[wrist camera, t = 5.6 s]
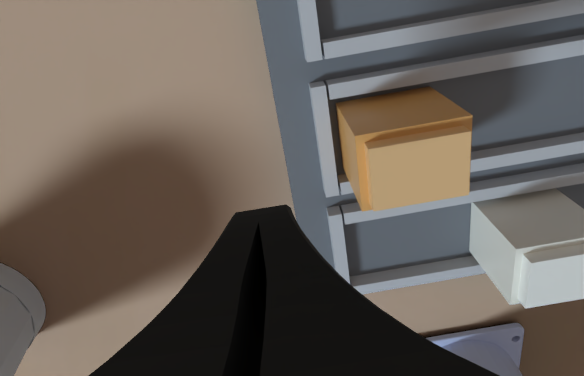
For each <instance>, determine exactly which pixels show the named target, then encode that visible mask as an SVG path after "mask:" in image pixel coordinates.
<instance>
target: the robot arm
mask: <svg viewBox="0 0 584 376" xmlns="http://www.w3.org/2000/svg"><path fill="white" fill-rule="evenodd" d="M523 337H524V328H523V327H522V326H521V325H520V324H519V323H510V324H505V325H499V326H493V327H487V328H481V329H475V330H469V331H463V332H457V333H452V334H446V335H440V336H434V337H428V338H424V337H422V336H421V335H419V334H417V333H416V332H414V331H412V330H411V329H410V328H408V327H407V326H405V325H404V324H402V323H401V322H399V321H398V320H396V319H395V318H393V317H392V316H390V315H389V314H387V313H386V312H384V311H383V310H381V309H380V308H379V307H377V306H376V305H375V304H373V303H372V302H371V301H370V300H368V299H367V298H366V297H365V296H363V295H362V294H361V293H360V292H358V291H357V290H356V289H355V288H354V287H353V286H352V285H350V284H349V283H348V282H347V281H346V280H345V279H344V278H343V277H342V276H341V275H340V274H339V273H338V272H337V271H336V270H335V269H334V268H333V267H332V266H331V265H330V264H329V263H328V262H327V261H326V260H325V259H324V258H323V256H322V255H321V254H320V253H319V252H318V251H317V249H316V248H315V247H314V245H313V244H312V243H311V242H310V240H309V239H308V238H307V237H306V235H305V234H304V232H303V231H302V229H301V228H300V226H299V225H298V223H297V221H296V219H295V217H294V215H293V213H292V210H291V208H290V207H289V206H287V205H280V206H274V207H268V208H262V209H256V210H249V211H243V212H237V213H235V214H234V216H233V217H232V219H231V220H230V222H229V223H228V225H227V226H226V228H225V230H224V231H223V233H222V234H221V236H220V237H219V239H218V240H217V242H216V243H215V245H214V246H213V248H212V249H211V251H210V252H209V254H208V255H207V256H206V258H205V259H204V261H203V262H202V263H201V265H200V266H199V268H198V269H197V270H196V271H195V273H194V274H193V275H192V276H191V278H190V279H189V280H188V281H187V283H186V284H185V285H184V286H183V288H182V289H181V290H180V291H179V293H178V294H177V295H176V296H175V297H174V298H173V299H172V300H171V302H170V303H169V304H168V305H167V306H166V307H165V308H164V309H163V310H162V311H161V312H160V313H159V314H158V315H157V316H156V317H155V318H154V319H153V320H152V321H151V322H150V323H149V324H148V325H147V326H146V327H145V328H144V329H143V330H142V331H141V332H139V333H138V334H137V335H136V336H135V337H134V338H133V339H131V340H130V341H129V342H128V343H127V344H126V345H125V346H124V347H122V348H121V349H120V350H119V351H118V352H117V353H116V354H114V355H113V356H112V357H111V358H110V359H109V360H108V361H106V362H105V363H104V364H103V365H101V366H100V367H99V368H98V369H96V370H95V371H94V372H93V373H91V374H90V375H89V376H523V375H522V373H521V372H520V370H519V366H520V359H521V352H522V344H523Z"/></svg>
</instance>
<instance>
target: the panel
mask: <svg viewBox="0 0 584 376" xmlns="http://www.w3.org/2000/svg"><path fill="white" fill-rule="evenodd" d="M256 1H257V7H258V12H259V18H260V23H261V29H262V34H263V40H264V45H265V51H266V56H267V61H268V67H269V72H270V78H271V83H272V89H273V94H274V100H275V105H276V111H277V116H278V121H279V127H280V132H281V138H282V143H283V149H284V154H285V160H286V165H287V171H288V176H289V181H290V187H291V192H292V198H293V203H294V209H295V214H296V220H297V223H298V225H299V226H300V228H301V229H302V231H303V232H304V234H305V235H306V237H307V238H308V239H309V240H310V242H311V243H312V244H313V245H314V247H315V248H316V249H317V251H318V252H319V253H320V254H321V255H322V256H323V258H324V259H325V260H326V261H327V262H328V263H329V264H330V265H331V266H332V267H333V268H334V269H335V270H336V271H337V272H338V273H339V274H340V275H341V276H342V277H343V278H344V279H345V280H346V281H347V282H348V283H349V284H350V285H352V286H353V287H354V288H355V289H356V290H357V291H358V292H360V293H361V294H367V293H373V292H379V291H385V290H390V289H396V288H402V287H408V286H414V285H420V284H425V283H431V282H437V281H443V280H449V279H455V278H460V277H466V276H472V275H478V274H484V273H486V272H485V271H484V270H483V268H482V267H481V266H480V264H479V263H478V262H477V260H476V259H475V258H474V256H473V255H472V254H471V252H470V251H469V243H470V221H471V203H472V202H478V201H484V200H490V199H495V198H501V197H507V196H513V195H518V194H524V193H530V192H536V191H541V190H547V189H553V188H556V189H557V190H559V191H560V192H561V193H563V194H564V195H565V196H567V197H568V198H569V199H571V200H572V201H574V202H575V203H576V204H578V205H579V206H580V207H582V208H583V209H584V0H256ZM428 86H430V87H432V88H433V89H434V90H436V91H437V92H439V93H440V94H442V95H443V96H445V97H446V98H448V99H449V100H451V101H452V102H454V103H455V104H457V105H458V106H460V107H461V108H463V109H464V110H466V111H467V112H469V113H470V114H471V115H473V118H472V142H471V165H470V189H469V195H466V196H460V197H454V198H449V199H443V200H437V201H431V202H426V203H420V204H414V205H408V206H403V207H397V208H391V209H385V210H380V211H374V212H373V210H369V211H363V212H362V210H361V208H360V206H359V203H358V201H357V199H356V196H355V194H354V192H353V189H352V187H351V185H350V182H349V180H348V178H347V175H346V173H345V171H344V168H343V164H342V155H341V146H340V137H339V129H338V120H337V111H336V103H338V102H344V101H349V100H355V99H361V98H366V97H372V96H378V95H383V94H389V93H395V92H400V91H406V90H411V89H417V88H423V87H428Z"/></svg>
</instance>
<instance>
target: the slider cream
mask: <svg viewBox="0 0 584 376" xmlns="http://www.w3.org/2000/svg"><path fill="white" fill-rule="evenodd" d="M469 251H470V252H471V254H472V255H473V256H474V258H475V259H476V260H477V262H478V263H479V264H480V266H481V267H482V268H483V270H484V271H485V272H486V274H487V275H488V276H489V278H490V279H491V280H492V282H493V283H494V284H495V286H496V287H497V288H498V290H499V291H500V292H501V294H502V295H503V296H504V298H505V299H506V300H507V302H508V303H509V304H510V305H514V304H519V303H521V304H522V305H523V306H524V308H525V309H526V308H532V307H538V306H544V305H550V304H556V303H562V302H567V301H573V300H579V299H584V209H583V208H582V207H580V206H579V205H578V204H576V203H575V202H574V201H572V200H571V199H569V198H568V197H567V196H565V195H564V194H563V193H561V192H560V191H559V190H557V189H556V188H553V189H547V190H541V191H536V192H530V193H524V194H518V195H513V196H507V197H501V198H495V199H490V200H484V201H478V202H472V203H471V221H470V243H469Z"/></svg>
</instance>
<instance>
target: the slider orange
mask: <svg viewBox="0 0 584 376" xmlns="http://www.w3.org/2000/svg"><path fill="white" fill-rule="evenodd" d="M336 111H337V120H338V129H339V137H340V146H341V155H342V164H343V168H344V171H345V173H346V175H347V178H348V180H349V182H350V185H351V187H352V189H353V192H354V194H355V196H356V199H357V201H358V203H359V206H360V208H361V210H362V212H363V211H369V210H373V212H374V211H380V210H385V209H391V208H397V207H403V206H408V205H414V204H420V203H426V202H431V201H437V200H443V199H449V198H454V197H460V196H466V195H469V189H470V165H471V142H472V118H473V115H471V114H470V113H469V112H467V111H466V110H464V109H463V108H461V107H460V106H458V105H457V104H455V103H454V102H452V101H451V100H449V99H448V98H446V97H445V96H443V95H442V94H440V93H439V92H437V91H436V90H434V89H433V88H432V87H430V86H428V87H423V88H417V89H411V90H406V91H400V92H395V93H389V94H383V95H378V96H372V97H366V98H361V99H355V100H349V101H344V102H338V103H336Z"/></svg>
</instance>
